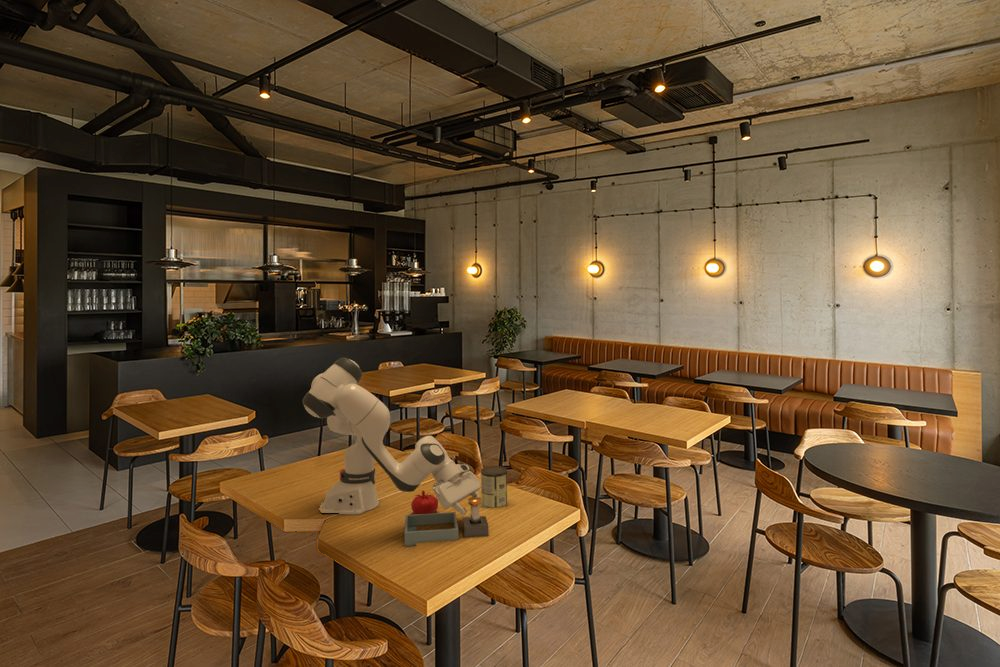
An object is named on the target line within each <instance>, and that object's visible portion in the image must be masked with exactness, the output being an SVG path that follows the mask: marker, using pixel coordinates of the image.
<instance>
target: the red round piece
mask: <svg viewBox="0 0 1000 667" xmlns="http://www.w3.org/2000/svg"><path fill="white" fill-rule="evenodd" d="M431 493H432V492H427V493H426V492H425V490H421V492H420V494H416V495H415V497H414V498H413V499H412V501H411V503H410V504H411V505H410V506H411V510H412V512H413V515H416V514H432V513H437V510H438V508H439V501H438V499H437V497H436V496H435V494H431Z"/></svg>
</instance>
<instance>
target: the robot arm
mask: <svg viewBox="0 0 1000 667" xmlns="http://www.w3.org/2000/svg"><path fill="white" fill-rule="evenodd" d="M362 377H363V372H362V369H361V368H360V366H359V364H358V363H357V362H356V361H354V360H352V359H350V358H347V357H339V358H338V359H337V360H335V361H334V362H333V364H332V365H331V366H329V367H328V368H327V369H326V370H325V371H323V372H322V373H320V374H318V375H317V376H315V377H314V378H313V379H312V382H311V385H310V386H311V387H310V390H309V391H308V392H306V394H305V395H304V396H303V398H302V401H301V402H302V405H303V406H304V409H305V410H306V412H307V413H308V414H310V416H312V417H315V418H319V419H326V424H327V426H328V429H329V430H330V431H331V432H333V433H336V434H339V435H344V436H345V435H346V436H348V435H349V436H355V438H356V439H355V443H353V444H351V445H350V446H349V447H347V448H346V450H345V451H344V468H341V469H339V470H340V471H339V481H337V482H336V483H335V484H334V485H332V486H331V487H330V488H329V489H328V490H327V492H326V495H325V499H324V500H325V502H323V501H322V502H323V503H322V502H321V503H320V504H321V505H320V504H319V506H320V508H319V507H318V511H319V510H320V509H321V508H322V509H323V508H324V509H323V510H320V511H321V512H327V513H339V514H338V515H361V514H363V513H365V512H367V511H370V510H373V509H375V508H376V507H378V506H379V504H380V501H379V498H378V495H377V490H376V489H377V488H376V482H377V476H376V475H377V474H376V468H375V461H376V463H377V464H378V465H379V466H380V468H382V470H384V472H385V473H386V474H387V476H388V477H389V478H390V480H391V482H392V483H393V484H394V486H395V487H396V488H397V489H398V490H399V491H400V492H405V493H410V492H411V493H412V492H415V491H416V490H417V488H418V487H419V486H420V485H421V484H422V482H424V481H425V480H426V479H427V478H428V477H429V476H430V475H431V476H432V477H433V479H434V480H435V482H434V484H433V486H432V491H433V492H434V496H435V498H437V499H438V504H440V505H441V507H442V508H443V509H445V510H448V509H449V508H451V507H452V509H453V510H455V511H456V512H458V513H459V514H460V516H464V515H466V514H467V513H468V510H467V509H466V508H465V507H462V506H461V505H460V502H462V501H463V500H465V499H467V498H470V496H471V498H472V497H479V498H480V495H479V490H481V481H479V479H478V477H477V476H476V475H475V474H474V473H473V472H472V471H470V467H469V465H468V464H459V463H458V464H456V463H455V460H453V459H451V458H450V457H449V454H448V452H447V450H446V449H445V448H444V447H443V445H442V444H441V443H440V441H438V440H437V439H436V437H434V436H432V435H425V436H423V437H421V438H420V439H419V440H417V441H416V443H415V445H414V448H415V449H413V451H412V452H411V453H410V454H409V455H408V456H407V457H406V458H405V459H404V460H403V461H401V462H398V461H397V460H396V459H395V458H394V457H393V455H392V454H391V453H390V452H389V451H388V450H387V448H386V447H385V445H384V442H383V441H384V438H385V435H386V434H387V432H388V430H389V428H390V426H391V413H390V409H389V408H388V407H387V405H385V403H384V402H382V401H381V400H380V399H379V398H378V397H377V396H375V395H374V394H372V393H371V391H368V389H365V388H364V387H363V386H360V385H359V382H360V381H361V379H362ZM481 504H482V500H481ZM481 504H479V506H480V505H481Z"/></svg>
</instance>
